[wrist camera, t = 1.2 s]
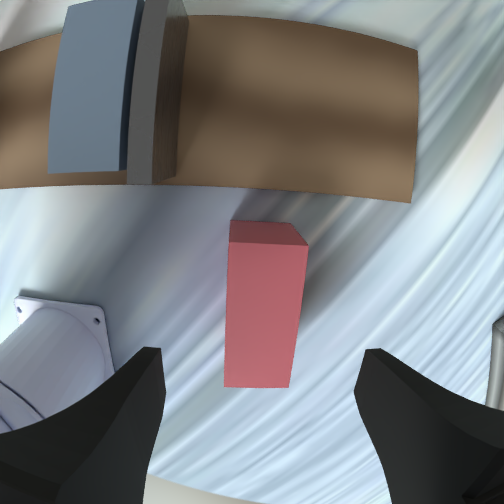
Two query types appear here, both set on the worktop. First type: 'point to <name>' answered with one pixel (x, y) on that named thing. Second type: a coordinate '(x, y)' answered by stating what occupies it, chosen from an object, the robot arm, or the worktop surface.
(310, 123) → the book shelf
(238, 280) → the red rectangular block
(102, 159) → the slate book
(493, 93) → the worktop surface
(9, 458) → the robot arm
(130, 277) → the worktop surface
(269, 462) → the worktop surface
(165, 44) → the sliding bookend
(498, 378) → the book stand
